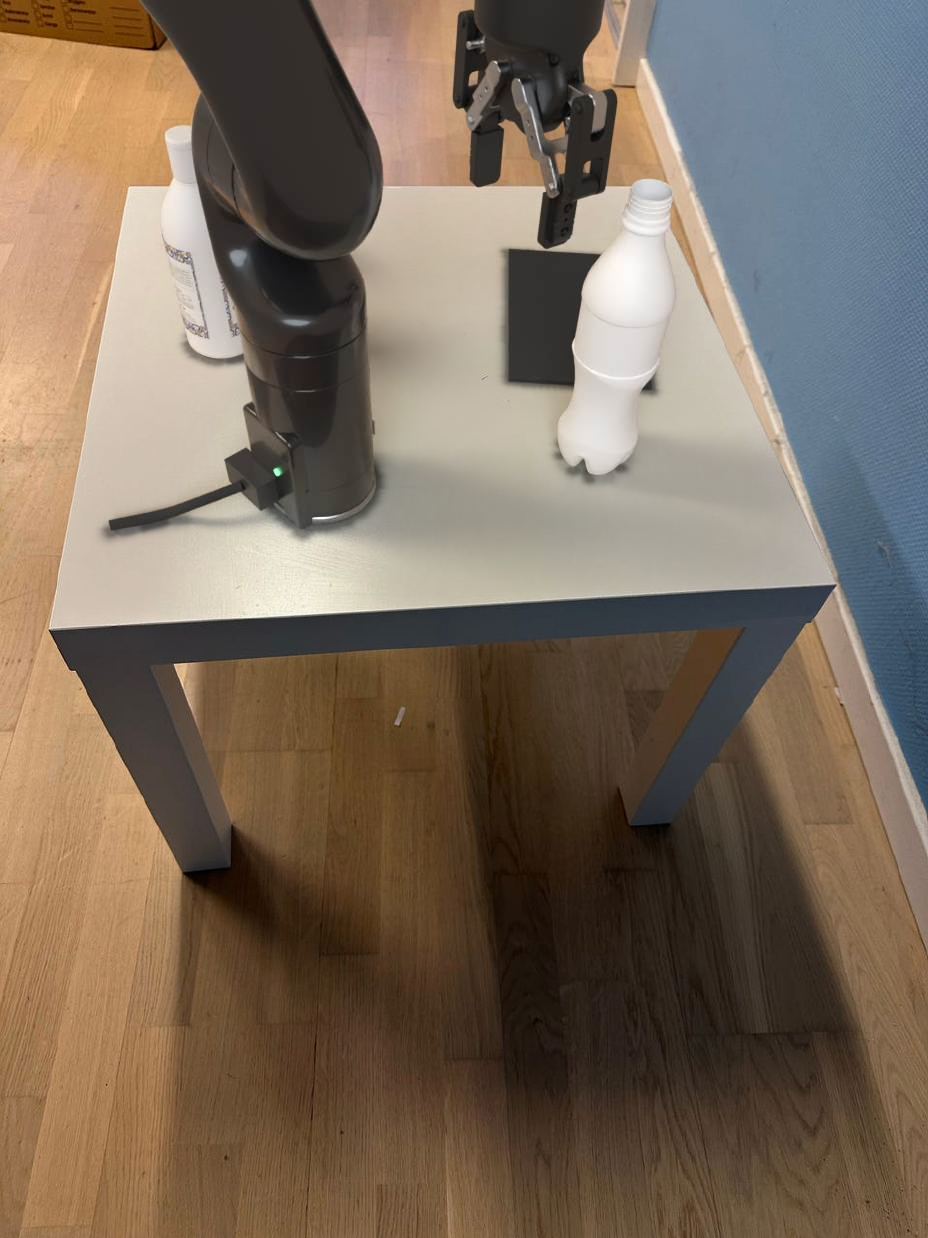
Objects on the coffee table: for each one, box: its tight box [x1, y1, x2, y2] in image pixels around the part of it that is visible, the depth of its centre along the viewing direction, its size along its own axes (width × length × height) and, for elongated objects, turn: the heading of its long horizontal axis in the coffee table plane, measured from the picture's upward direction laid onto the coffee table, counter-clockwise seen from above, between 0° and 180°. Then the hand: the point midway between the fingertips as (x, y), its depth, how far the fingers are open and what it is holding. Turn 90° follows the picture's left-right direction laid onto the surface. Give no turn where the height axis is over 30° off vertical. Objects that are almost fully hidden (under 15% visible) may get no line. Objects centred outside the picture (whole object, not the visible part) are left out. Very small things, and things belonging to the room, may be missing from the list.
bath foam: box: [160, 124, 244, 359], centre depth 81 cm, size 7×7×20 cm
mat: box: [508, 248, 653, 390], centre depth 94 cm, size 22×14×1 cm, turn 178°
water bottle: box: [557, 178, 677, 476], centre depth 72 cm, size 7×7×25 cm
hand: (517, 212), depth 62 cm, fingers open, 8 cm apart
